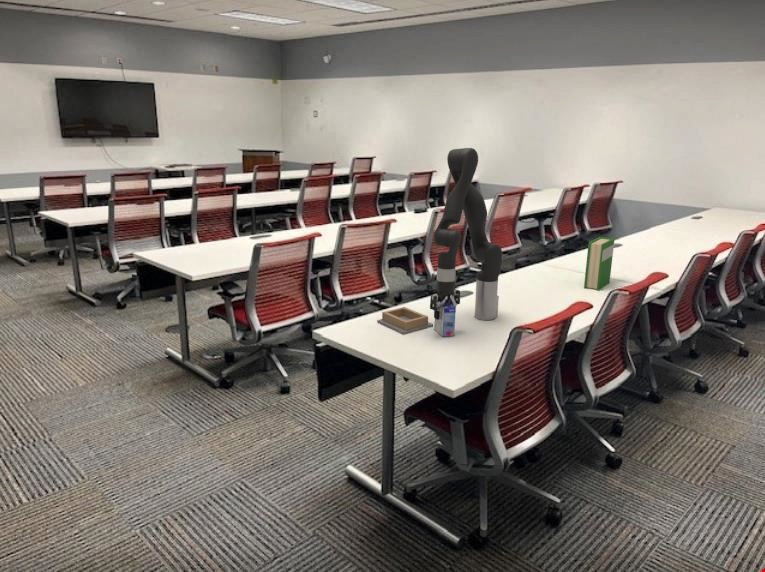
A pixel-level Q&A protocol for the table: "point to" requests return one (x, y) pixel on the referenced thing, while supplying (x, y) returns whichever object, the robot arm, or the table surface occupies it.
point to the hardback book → (599, 263)
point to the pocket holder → (404, 320)
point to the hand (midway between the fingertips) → (444, 317)
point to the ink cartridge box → (446, 320)
